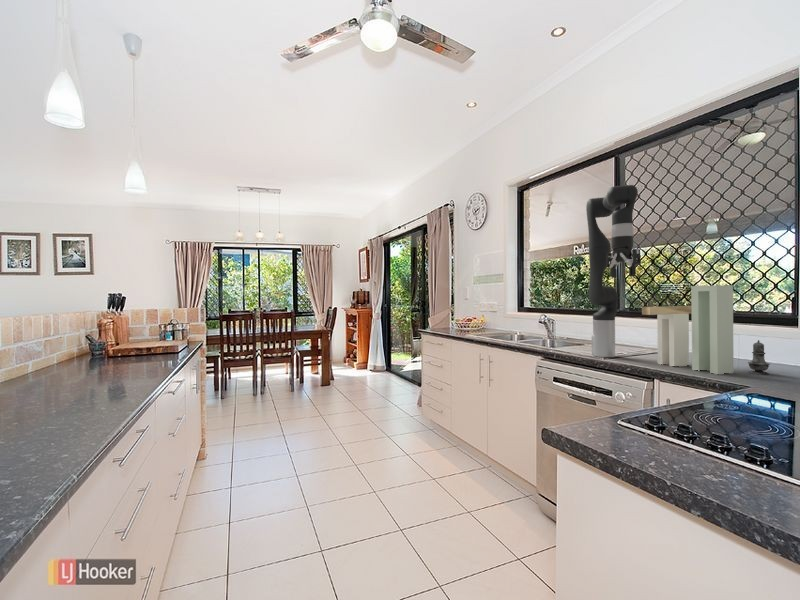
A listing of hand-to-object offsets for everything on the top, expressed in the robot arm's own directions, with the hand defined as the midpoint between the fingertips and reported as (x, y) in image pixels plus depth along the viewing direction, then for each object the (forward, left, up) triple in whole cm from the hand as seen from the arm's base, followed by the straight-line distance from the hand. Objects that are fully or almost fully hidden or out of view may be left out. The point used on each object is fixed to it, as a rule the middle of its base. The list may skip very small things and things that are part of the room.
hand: (622, 277), depth 150 cm
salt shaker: (+24, +36, -36) cm, 56 cm away
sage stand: (+17, +24, -36) cm, 46 cm away
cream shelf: (+2, +24, -36) cm, 43 cm away
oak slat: (+2, +24, -15) cm, 28 cm away
